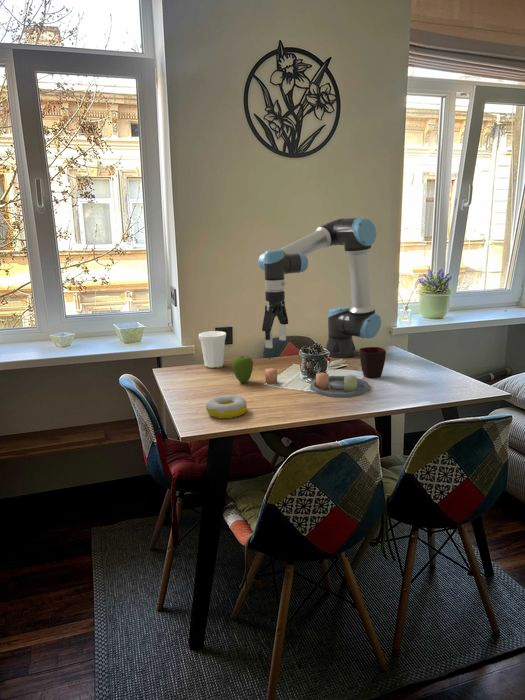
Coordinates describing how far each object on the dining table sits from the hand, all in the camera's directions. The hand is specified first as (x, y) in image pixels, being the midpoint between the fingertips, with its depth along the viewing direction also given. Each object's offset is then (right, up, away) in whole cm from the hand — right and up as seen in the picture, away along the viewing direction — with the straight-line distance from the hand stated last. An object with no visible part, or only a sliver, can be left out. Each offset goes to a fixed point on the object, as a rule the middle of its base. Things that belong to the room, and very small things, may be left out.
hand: (276, 343), depth 200 cm
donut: (-18, -25, -26) cm, 40 cm away
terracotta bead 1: (-2, -16, +5) cm, 17 cm away
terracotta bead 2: (+18, -17, -6) cm, 25 cm away
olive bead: (+28, -18, -11) cm, 35 cm away
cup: (-28, -10, +32) cm, 44 cm away
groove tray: (+24, -18, -6) cm, 31 cm away
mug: (+40, -14, +10) cm, 43 cm away
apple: (-13, -16, +7) cm, 22 cm away
